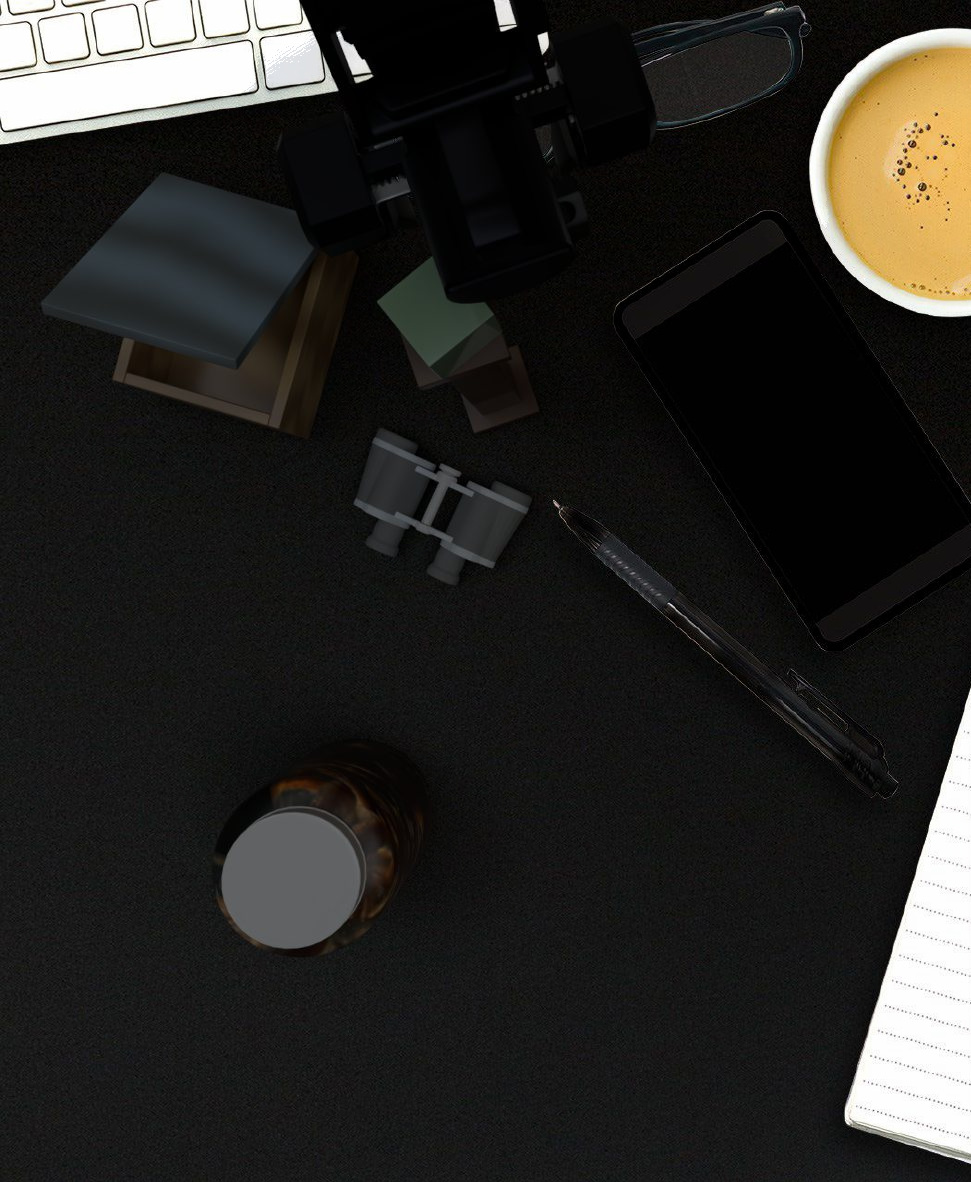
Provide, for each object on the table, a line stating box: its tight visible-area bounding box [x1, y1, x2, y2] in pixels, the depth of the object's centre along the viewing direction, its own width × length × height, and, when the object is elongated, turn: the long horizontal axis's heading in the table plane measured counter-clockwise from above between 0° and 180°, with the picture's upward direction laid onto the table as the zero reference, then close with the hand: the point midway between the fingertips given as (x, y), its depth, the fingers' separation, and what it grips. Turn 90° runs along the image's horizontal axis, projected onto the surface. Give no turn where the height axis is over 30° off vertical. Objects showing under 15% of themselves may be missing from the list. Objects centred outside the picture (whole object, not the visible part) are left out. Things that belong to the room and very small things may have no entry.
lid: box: [40, 171, 319, 370], centre depth 64 cm, size 14×12×1 cm
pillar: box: [398, 300, 542, 436], centre depth 65 cm, size 5×5×22 cm
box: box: [111, 251, 360, 440], centre depth 73 cm, size 14×12×7 cm
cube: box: [376, 255, 504, 380], centre depth 52 cm, size 4×4×4 cm
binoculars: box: [353, 427, 533, 587], centre depth 75 cm, size 12×8×4 cm, turn 65°
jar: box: [211, 739, 434, 959], centre depth 70 cm, size 12×12×15 cm
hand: (487, 194), depth 62 cm, fingers open, 9 cm apart
